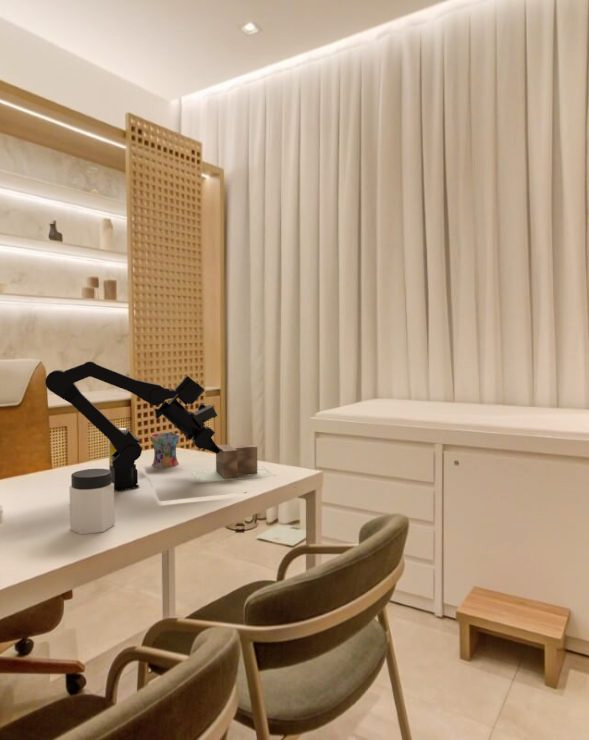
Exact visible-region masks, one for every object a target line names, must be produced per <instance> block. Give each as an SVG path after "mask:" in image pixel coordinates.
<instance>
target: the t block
mask: <svg viewBox="0 0 589 740" xmlns="http://www.w3.org/2000/svg"><path fill="white" fill-rule="evenodd" d="M216 446H217V447H218V448H219V450H220V452H219V453H218V454H217V453H215V470H216V472H217V473H218V474H219V475H220V476H221V477H222V478H224V479H229V478H231V479H236V478H238V476H241V475H248V474H258V470H257V467H258V446H257V445H255V444H246V445H245V444H243V445H231V444H229V443H227V444H216Z"/></svg>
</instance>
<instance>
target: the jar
mask: <svg viewBox="0 0 589 740" xmlns="http://www.w3.org/2000/svg"><path fill="white" fill-rule="evenodd" d="M70 478H71V479H70V481H71V484H70V485H71V486H69V487H68V488H69V519H70V521H69V522H70V523H69V525H70V530H71V531H73V532H75V533H76V534H79V535H89V534H90V533H91V534H99V533H100V532H101V533H104V532H106V531H108V530H109V529H110V528H112V527H114V526H115V525H116V523H115V520H116V519H115V490H114V483H112V473H111V471H110V469H107V468H88V469H81V470H77V471H74V472H73V473H71V477H70ZM101 533H100V534H101Z"/></svg>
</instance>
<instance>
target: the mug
mask: <svg viewBox="0 0 589 740" xmlns="http://www.w3.org/2000/svg"><path fill="white" fill-rule="evenodd" d="M149 438H150V440H151V442H152V446H153V450H154V451H153V452H154V456H153V461H152V464H151V467H153V468H156V469H157V468H159V469H166V468H175V467H178V466H179V461H178V458H177V446H178V445H177V444H178V441H179V438H180V434H179V433H177V432H159V433H158V432H157V433H153V434H150V435H149Z"/></svg>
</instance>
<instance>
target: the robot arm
mask: <svg viewBox="0 0 589 740" xmlns="http://www.w3.org/2000/svg"><path fill="white" fill-rule="evenodd" d="M86 378H93V379H97V380H98V381H101V382H104V383H107V384H109V385H112V386H114V387H116V388H119V389H122V390H124V391H126V392H127V391H128V392H129V393H132V394H133V395H135V396H136V397H138V398H140V399H141V400H142V401H145V402H146V403H148V404H150V405H152V406H155V408H153V412H154V418H155V419H156V420H158V419H159V418H161V417H162V416H163V417H164V418H165V419H166V420H168V421H169V422H170V423H171V424H172V425H173V426H174V427H175V428H176V429H178V431H179V432H181V433H182V434H183V436H184V437H185V438H186V439H188V440H189V441H191V440H192V444H193V445H194V446H195V447H196V448H197V449H199V450H201V449H203V450H206V451H208V452H209V451H210V452H211V453H215V454H216V453H217V454H218V453H219V452H220V450H219V448H218V447H217V446H216V445H217V444H216V443H215V441H214V440H213V438H212V437H213V436H214V435H215V431H214V430H213V429H212V428H211V427H209V426H205V425H206V424H205V423H206V422H208V421H210V420H211V419H215V418H216V417H218V413H217V411H216V409H215V408H214V406H213V405H212V404H207V405H205V404H203V403H200V404H199V405H197V410H196V411H195V412H192V411H189V410H188V409H187V408H186V407H185V406H188V405H190V406H193V404H194V403H195V402H196V401H197V400H198V399H199V397H201V395H202V394H203V393H204V392H205V389H204V388H203V387H202V386H201V385H200V384H199V383H198V382H196V381H195V380H194V379H192V378H191V377H190V376H188V375H186V376H184V378H183V379H182V381H181V382H180V383H179V384H178V385H177V386H176V387H175V388H174V389H173V388H171V387H170V388H167V387H163V386H162V385H160V384H158V383H155V382H148V381H144V380H139V379H135V378H132V377H130V376H127V375H124V374H122V373H120V372H117V371H114V370H113V369H109V368H107V367H104V366H101V365H99V364H98V363H95V362H94V361H90V360H89V361H88V360H87V361H86V362H85V363H83V364H81V365H77V366H75V367H72V368H69V369H66V370H63V369H56V370H52V371H51V372H50V373H48V375H47V376H46V378H45V382H44V383H45V386H46V388H47V389H48V391H50V392H51V393H52V394H54V395H56V396H57V397H58V398H60V399H62V400H64V401H66V402H67V403H69V404H71V405H72V406H73V407H74V408H75V409H76V410H78V411H79V412H80V414H81V415H82V416H84V417H85V418H86V419H87V420H88V421H89V422H90V423H91V424H92V425H93V426H94V427H95V428H96V429H97V430H98V431H99V432H100V433H102V435H104V436H105V437H106V438H107V439H108V441H109V440H110V442H111V443H112V445H113V446H114V448H115V449H116V450H117V451H116V452H115V453H114V454H113V455H112V456H111V459H112V464H113V465H112V466H110V468H109V470H110V471H111V473H112V483H114V492H123V491H127V490H132V489H137V488H140V485H139V483H138V482H139V481H138V480H139V479H138V469H137V464H136V460H138V459H140V457H141V456H142V446H141V444H140V443H141V442H140V439H139V437H138V436H136V435H134V434H133V433H132V432H131V431H130V429H129V428H127V429H126V431H125V432H124V431H122V430H120V429H119V428H120V427H117V425H116V424H114V423H113V422H112V421H111V420H110V419H109V418H108V417H107V416H106V415H105V414H104V413H103V412H102V411H100V409H99V408H98V407H96V406H95V404H93V403H92V401H90V400H89V398H87V397H86V396H85V395H84V394H83V393H82V391H80V389H79V388H78V385H76V383H77V382H80V381H82V380H84V379H86ZM177 399H178V400H179V401H180V402H179V401H178V400H177ZM167 400H168V401H167ZM182 404H184V405H182ZM156 406H159V407H158V408H156Z"/></svg>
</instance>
